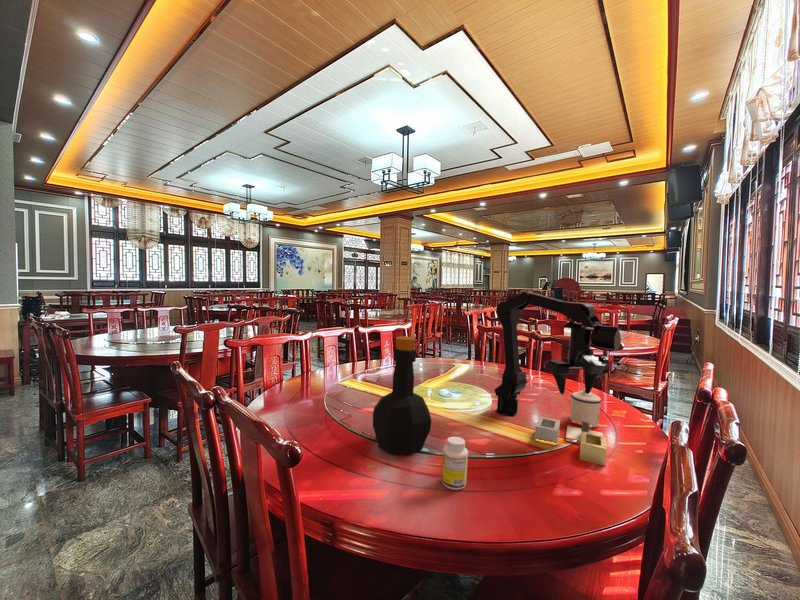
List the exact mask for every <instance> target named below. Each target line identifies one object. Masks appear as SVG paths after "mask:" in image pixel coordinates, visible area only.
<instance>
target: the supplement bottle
mask: <svg viewBox="0 0 800 600" xmlns="http://www.w3.org/2000/svg"><path fill="white" fill-rule="evenodd" d="M442 450H443V451H442V466H441V467H442V470H441V471H442V472H441V482H442V484H443V486H444V487H446V488H448V489H450V490H452V491H454V490H455V491H459V490H463V489H464V488H465V487H466V485H467V480H468V479H467V475H468V474H467V473H468V457H469V451H468V449H467V448H466V441H465V439H464V438H462V437H458V436H450V437H448V438H447V441H446V445H445V446H444V447H443V449H442Z"/></svg>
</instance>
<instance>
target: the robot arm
mask: <svg viewBox="0 0 800 600" xmlns="http://www.w3.org/2000/svg"><path fill="white" fill-rule="evenodd" d="M529 305H532V306H535V307H538V308H542V309H545V310H548V311H552V312H554V313H555V312H556V313H559V314H561V315H563V316H564V317H565V318H567V319H569V321H568V322H567V323H565V324H564V325H563V327H564V328H568V329H570V336H569V343H568V345H567V344H566V345H565V346H566V347H565V349H567V350H568V354H567V357H565V358H564V361H562V360H559V359H548V360H547V361H546V362H545V370H548V371H549V372H551V373H552V376H553V378H554V381H555V382H556V385H557V387H558V390H559V393H560V395H565V391H566V390H565V389H566V382H567V378H568V377H569V376H570V374H568V373H569V371H570V370H583V373H584V374H583V375H584V388H585V392H586V393H587V394H589V393H590V392H591V391H592V389H593V387H594V385H595V384H596V382H597V380H598V379H599V378H601V377H602V376H606V374H609V372H610V366H609V365H610V364H609V362H610V361H609V360H610V358H608V357H607V356H600V357H599V356H595V355H594V349H593V348H591V344H592V345H594V347H595V348H600V349H605V350H612V351H618V350H619V348H620V346H621V341H622V337H621V332H620V326H613V325H611V326H609V325H603V323H602V322H601V320H600V318H599V317H598V316H597V309H596V308H595V307H594V305H593V304H592V303H589V302H588V303H587V302H576V301H575V302H573V301H565V300H561V299H557V298H553V297H550V296H546V295H544V294H543V295H542V294H538V293H535V292H533V291H522V292H521V293H519V294H518V295H516V296H514V297H512V298H509V299H508V300H505V301H501V302H500V303H498V304H497V305H496V308H495V309H496V315H497V318H498V319H497V320H498V322H499V323H500V325H501V327H502V339H503V349H504V354H503V355H504V362H505V363H504V364H505V365H504V366H505V367H504V370H503V373H502V374H501V375H502V376H501V384H500V385H498V386H497V387H496V388H495V389H494V393H495V396H497V401H496V402H497V406H496V410H495V413H498V414H501V415H506V416H511V417H514V416H516V414H518V413H519V403H520V401H519V399H518V397H519V396H518V395H521V392H522V391H524V390H525V388H526V385H527V384H528V380H527V372H526V371H523V370H522V369H521V366H520V355H519V340H518V339H519V338H518V328H517V326H518V324H519V321H520V317H521V312H522V311H523V310H525V309H527V307H528V306H529Z"/></svg>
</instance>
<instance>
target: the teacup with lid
mask: <svg viewBox="0 0 800 600" xmlns="http://www.w3.org/2000/svg"><path fill="white" fill-rule="evenodd" d="M570 397H571V404H570V417H569V420H570V419H571V420H573V421H575V422H578V423H581V424H582V421H587V422H589V423H590V425H592V427H591V428H596V427H598V426H599V422H600V420H599V419H600V410H601V403H602V399H601V397H599V396H598V395H596V394H594V393H593V392H591V391H590V393H589V394H587V393H586V392H585V387H584V388H583V389H582V390H579V391H576V392H575V391H574V392H572V393H571V396H570ZM571 420H570V421H571Z"/></svg>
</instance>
